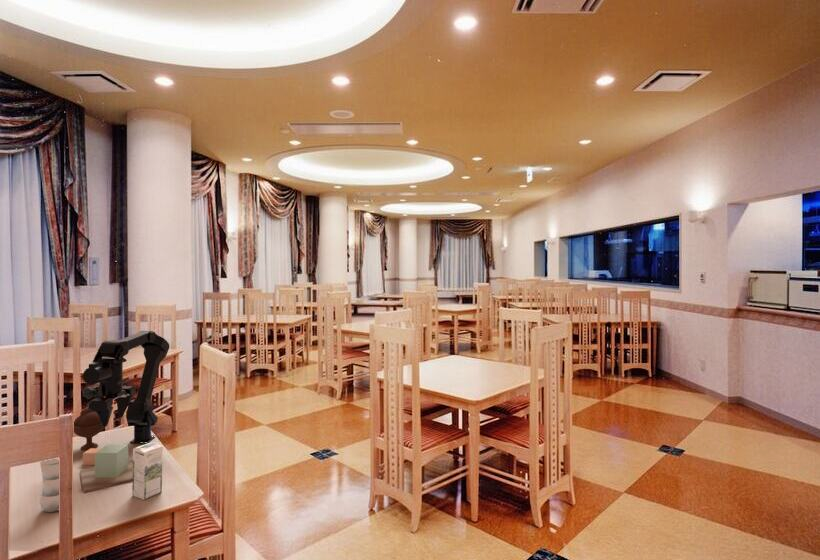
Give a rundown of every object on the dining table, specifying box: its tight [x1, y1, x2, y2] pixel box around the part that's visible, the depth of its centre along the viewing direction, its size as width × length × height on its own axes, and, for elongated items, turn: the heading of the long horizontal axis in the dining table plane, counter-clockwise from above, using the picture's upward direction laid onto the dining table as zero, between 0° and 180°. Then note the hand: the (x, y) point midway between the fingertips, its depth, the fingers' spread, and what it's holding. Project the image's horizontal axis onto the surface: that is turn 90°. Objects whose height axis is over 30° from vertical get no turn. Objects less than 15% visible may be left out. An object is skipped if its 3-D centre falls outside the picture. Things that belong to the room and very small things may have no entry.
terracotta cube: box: [82, 447, 101, 466], centre depth 158 cm, size 4×4×4 cm
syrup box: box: [131, 441, 164, 501], centre depth 138 cm, size 6×6×14 cm
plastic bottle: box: [39, 459, 59, 513], centre depth 128 cm, size 6×7×20 cm
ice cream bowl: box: [73, 406, 106, 452], centre depth 169 cm, size 11×11×15 cm
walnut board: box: [79, 458, 133, 493], centre depth 149 cm, size 16×16×1 cm
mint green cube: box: [94, 444, 129, 478], centre depth 149 cm, size 7×7×8 cm
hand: (113, 421), depth 161 cm, fingers open, 9 cm apart
